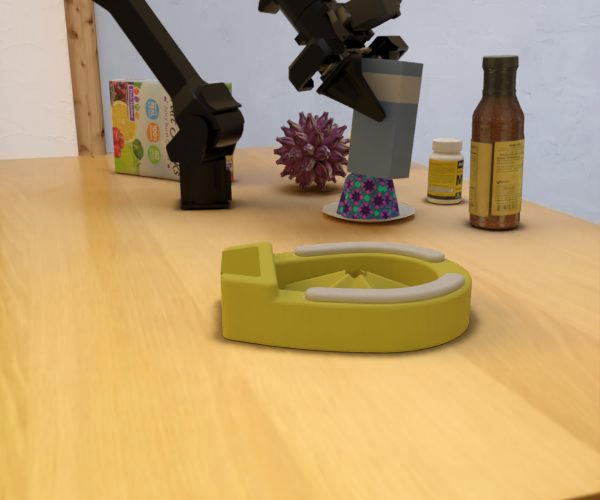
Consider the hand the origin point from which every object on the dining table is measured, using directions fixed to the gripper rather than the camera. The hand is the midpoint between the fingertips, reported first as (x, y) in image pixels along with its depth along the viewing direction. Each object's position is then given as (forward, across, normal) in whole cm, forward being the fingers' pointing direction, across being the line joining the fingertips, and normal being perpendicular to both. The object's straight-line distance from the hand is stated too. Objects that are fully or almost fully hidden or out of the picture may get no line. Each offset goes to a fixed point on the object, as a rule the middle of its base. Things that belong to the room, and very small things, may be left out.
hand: (394, 117), depth 91 cm
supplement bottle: (+9, +18, +10) cm, 23 cm away
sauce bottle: (+16, +9, +3) cm, 19 cm away
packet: (+4, 0, +6) cm, 7 cm away
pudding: (+6, +5, +14) cm, 15 cm away
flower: (-5, +15, +24) cm, 29 cm away
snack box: (-22, +11, +42) cm, 48 cm away
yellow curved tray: (+17, -28, +2) cm, 33 cm away
